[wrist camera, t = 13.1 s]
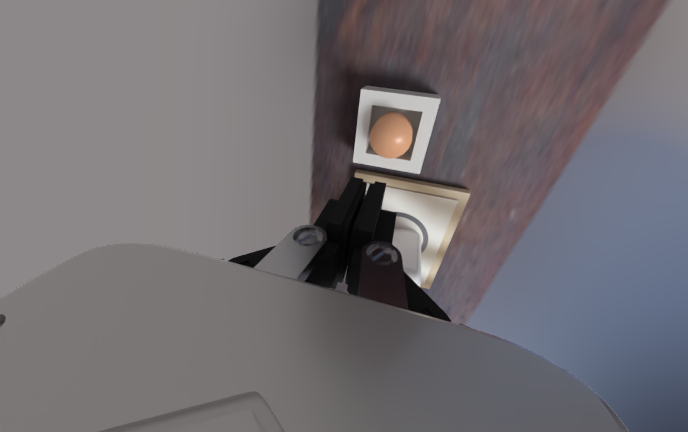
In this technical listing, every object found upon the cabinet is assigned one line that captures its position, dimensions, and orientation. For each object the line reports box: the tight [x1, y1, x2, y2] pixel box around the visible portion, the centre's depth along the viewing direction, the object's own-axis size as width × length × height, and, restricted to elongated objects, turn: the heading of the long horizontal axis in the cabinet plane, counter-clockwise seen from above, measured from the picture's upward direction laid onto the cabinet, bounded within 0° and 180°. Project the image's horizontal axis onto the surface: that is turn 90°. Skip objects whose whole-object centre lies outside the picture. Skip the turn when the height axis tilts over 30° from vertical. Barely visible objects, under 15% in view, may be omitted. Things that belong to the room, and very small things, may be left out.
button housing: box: [353, 86, 441, 174], centre depth 25 cm, size 7×7×3 cm
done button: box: [370, 111, 413, 159], centre depth 23 cm, size 4×4×2 cm
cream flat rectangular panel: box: [355, 169, 471, 289], centre depth 32 cm, size 16×13×1 cm
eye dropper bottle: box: [392, 229, 421, 287], centre depth 27 cm, size 4×6×12 cm
